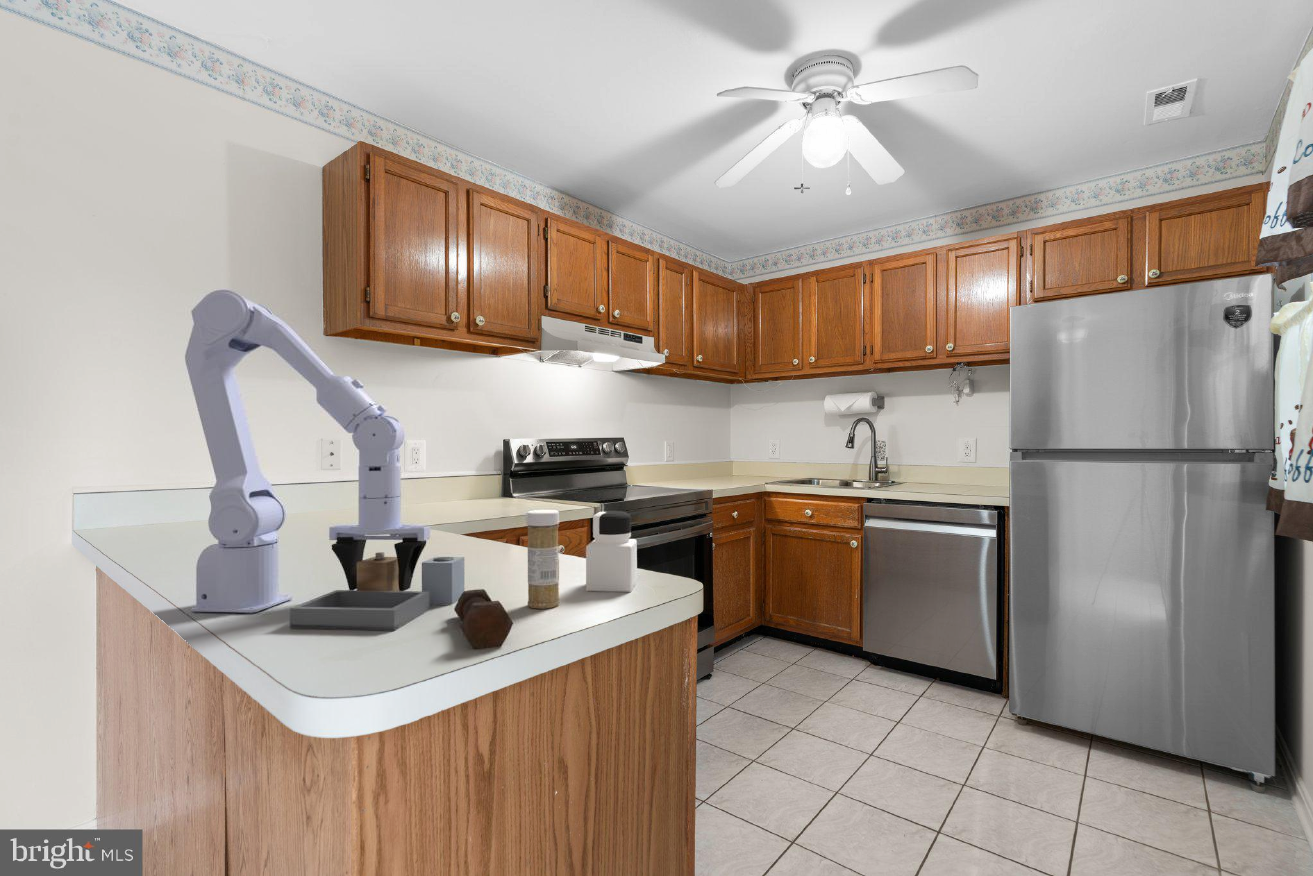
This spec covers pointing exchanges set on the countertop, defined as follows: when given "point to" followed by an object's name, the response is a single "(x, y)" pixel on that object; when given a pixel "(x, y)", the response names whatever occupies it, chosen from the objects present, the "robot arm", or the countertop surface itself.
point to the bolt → (482, 619)
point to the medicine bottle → (611, 554)
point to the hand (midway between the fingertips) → (379, 589)
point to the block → (378, 573)
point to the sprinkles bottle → (543, 559)
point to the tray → (360, 610)
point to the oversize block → (443, 579)
